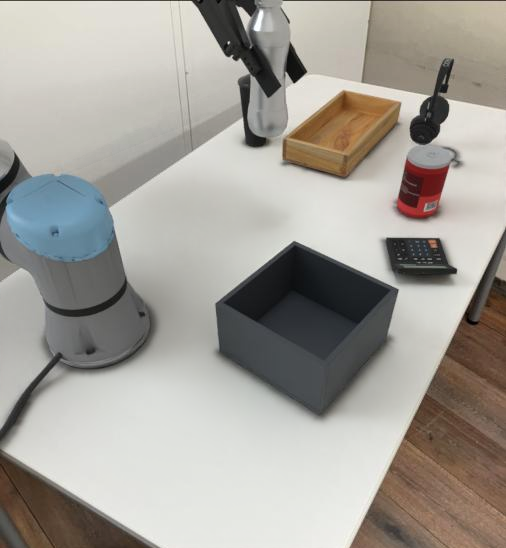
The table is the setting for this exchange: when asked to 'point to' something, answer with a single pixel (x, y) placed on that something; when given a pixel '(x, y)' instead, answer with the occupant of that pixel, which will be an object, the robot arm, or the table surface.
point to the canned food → (423, 180)
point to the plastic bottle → (274, 47)
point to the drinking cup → (244, 88)
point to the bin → (305, 323)
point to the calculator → (418, 256)
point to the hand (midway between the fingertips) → (287, 84)
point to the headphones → (433, 109)
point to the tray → (341, 132)
